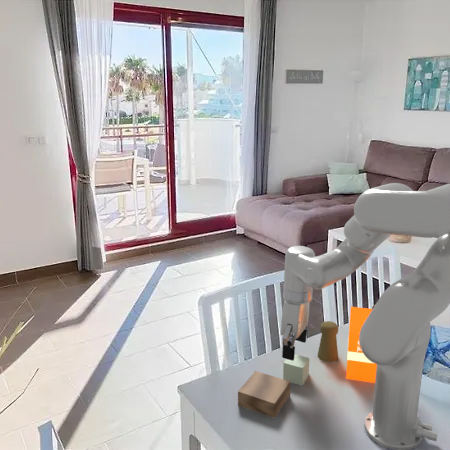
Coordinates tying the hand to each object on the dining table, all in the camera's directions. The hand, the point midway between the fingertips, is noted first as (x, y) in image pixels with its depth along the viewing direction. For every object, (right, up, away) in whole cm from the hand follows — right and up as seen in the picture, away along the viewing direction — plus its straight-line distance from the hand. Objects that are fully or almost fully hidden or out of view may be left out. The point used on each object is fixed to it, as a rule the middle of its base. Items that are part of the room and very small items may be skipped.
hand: (294, 349), depth 126 cm
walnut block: (-9, -11, -7) cm, 16 cm away
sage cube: (+1, -8, +2) cm, 8 cm away
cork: (+12, -5, +11) cm, 17 cm away
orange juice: (+20, -8, +3) cm, 21 cm away
